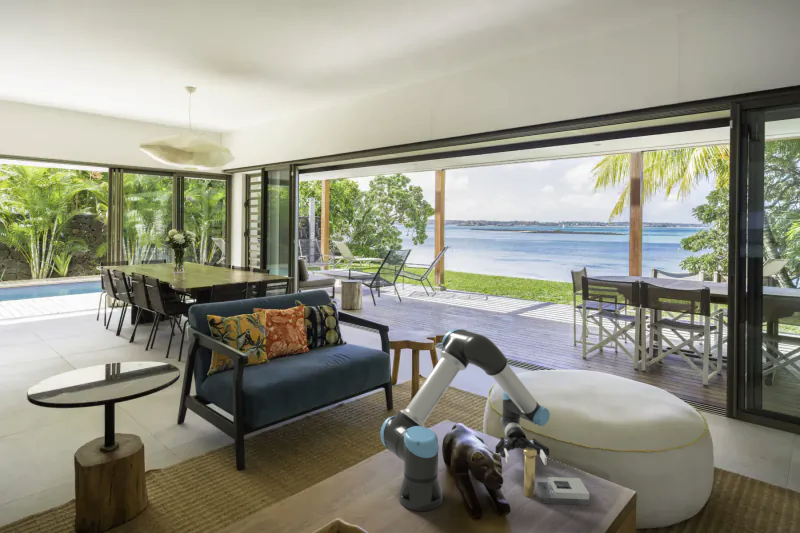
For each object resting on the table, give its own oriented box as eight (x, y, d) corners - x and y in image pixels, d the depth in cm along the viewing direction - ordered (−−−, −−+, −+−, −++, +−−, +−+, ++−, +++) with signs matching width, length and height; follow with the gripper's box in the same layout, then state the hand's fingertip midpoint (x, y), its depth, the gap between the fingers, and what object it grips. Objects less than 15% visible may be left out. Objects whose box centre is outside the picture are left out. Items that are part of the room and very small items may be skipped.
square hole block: (544, 503, 157) (544, 491, 157) (537, 487, 167) (537, 476, 167) (589, 505, 156) (589, 493, 156) (579, 488, 166) (579, 478, 166)
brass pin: (523, 497, 160) (525, 453, 159) (521, 490, 164) (522, 447, 163) (536, 498, 160) (538, 453, 159) (533, 491, 164) (535, 447, 163)
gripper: (545, 445, 189) (561, 471, 168) (484, 443, 190) (492, 469, 169) (546, 427, 188) (561, 451, 167) (484, 425, 190) (492, 449, 169)
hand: (526, 460), depth 168 cm, fingers open, 13 cm apart
